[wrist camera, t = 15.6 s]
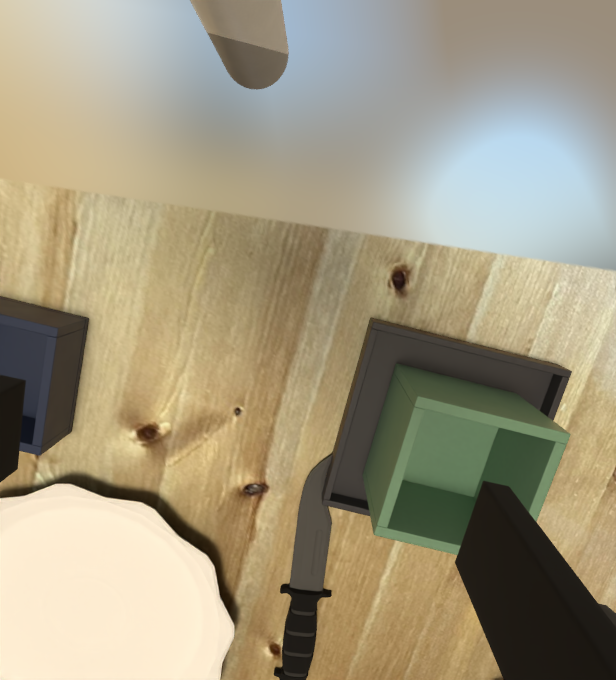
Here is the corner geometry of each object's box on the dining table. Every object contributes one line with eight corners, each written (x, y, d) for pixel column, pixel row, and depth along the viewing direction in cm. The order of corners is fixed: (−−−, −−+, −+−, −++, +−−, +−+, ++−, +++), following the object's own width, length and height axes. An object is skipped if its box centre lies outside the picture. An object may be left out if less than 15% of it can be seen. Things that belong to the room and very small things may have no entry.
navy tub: (-35, 287, 41) (-83, 293, 36) (89, 318, 41) (58, 328, 36) (-47, 403, 43) (-94, 424, 38) (71, 431, 43) (40, 455, 38)
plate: (-37, 440, 44) (-57, 452, 41) (266, 520, 45) (263, 535, 42) (-70, 690, 49) (-90, 712, 47) (199, 754, 50) (193, 779, 48)
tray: (370, 317, 41) (373, 321, 38) (559, 365, 41) (572, 371, 39) (321, 492, 44) (321, 504, 42) (496, 534, 44) (504, 548, 42)
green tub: (396, 363, 41) (417, 395, 32) (516, 393, 41) (571, 434, 32) (362, 475, 43) (373, 535, 34) (477, 503, 43) (517, 569, 34)
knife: (296, 452, 42) (351, 458, 42) (297, 444, 43) (350, 450, 44) (269, 684, 47) (318, 689, 47) (270, 670, 49) (318, 675, 49)
